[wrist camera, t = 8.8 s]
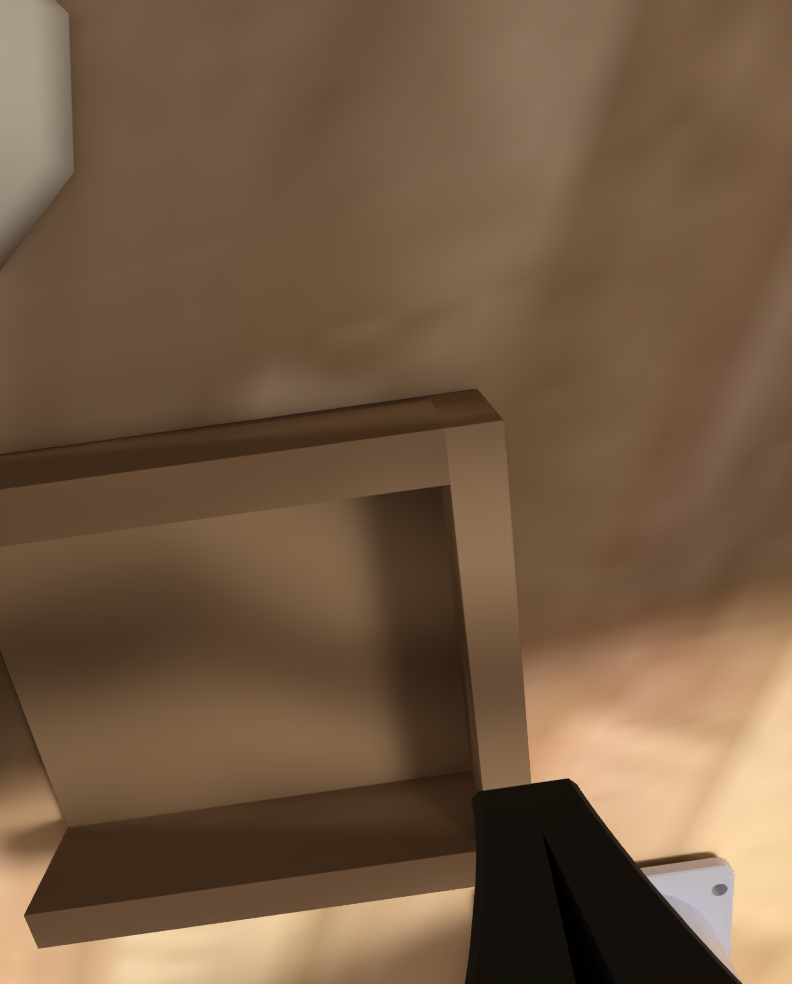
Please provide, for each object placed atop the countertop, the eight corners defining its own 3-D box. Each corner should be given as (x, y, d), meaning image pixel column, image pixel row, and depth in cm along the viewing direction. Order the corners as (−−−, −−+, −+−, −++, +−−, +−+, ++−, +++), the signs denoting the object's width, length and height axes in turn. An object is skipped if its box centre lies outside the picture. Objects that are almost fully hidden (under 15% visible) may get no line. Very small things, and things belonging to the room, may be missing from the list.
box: (512, 786, 21) (538, 877, 18) (84, 847, 21) (38, 948, 18) (477, 389, 17) (503, 420, 14) (-60, 462, 17) (-153, 510, 14)
